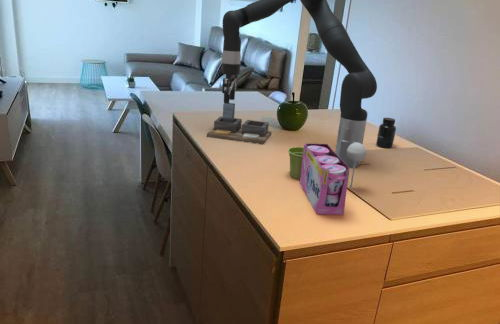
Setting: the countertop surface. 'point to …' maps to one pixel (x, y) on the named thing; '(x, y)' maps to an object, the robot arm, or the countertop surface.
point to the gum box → (324, 178)
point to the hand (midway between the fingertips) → (229, 101)
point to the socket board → (240, 130)
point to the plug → (228, 112)
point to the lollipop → (356, 155)
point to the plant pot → (296, 161)
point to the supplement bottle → (386, 133)
